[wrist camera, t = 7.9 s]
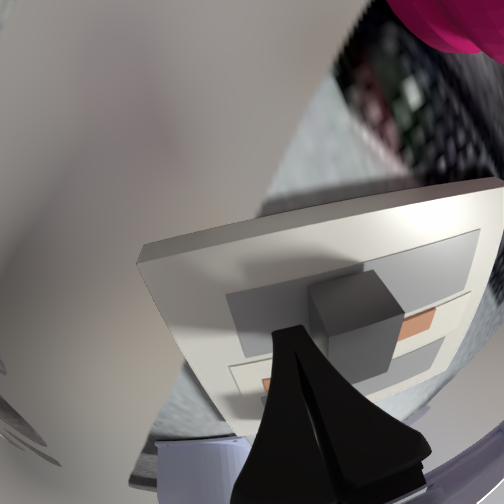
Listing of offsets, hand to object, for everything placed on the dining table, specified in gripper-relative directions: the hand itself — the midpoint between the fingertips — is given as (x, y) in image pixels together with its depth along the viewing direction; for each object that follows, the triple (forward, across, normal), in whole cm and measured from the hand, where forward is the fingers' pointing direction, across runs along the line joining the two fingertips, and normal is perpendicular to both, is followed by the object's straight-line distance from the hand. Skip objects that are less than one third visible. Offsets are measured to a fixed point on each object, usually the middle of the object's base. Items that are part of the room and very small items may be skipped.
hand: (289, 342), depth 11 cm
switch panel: (+3, -5, +4) cm, 7 cm away
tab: (+1, -3, 0) cm, 3 cm away
